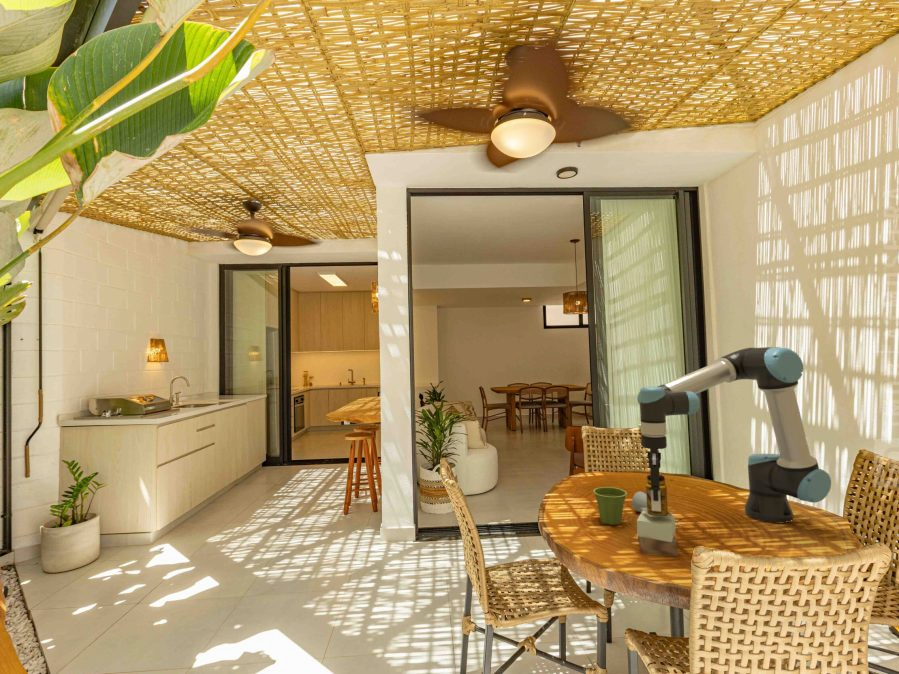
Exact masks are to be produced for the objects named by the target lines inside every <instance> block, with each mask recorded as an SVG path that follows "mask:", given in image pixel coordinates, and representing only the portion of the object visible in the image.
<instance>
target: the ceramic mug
mask: <svg viewBox="0 0 899 674" xmlns="http://www.w3.org/2000/svg"><path fill="white" fill-rule="evenodd" d="M646 498H647V494H646V493H645V492H644V491H637V492H635V493H634V495H633V496H632V499H631V505H632V508H633V510H634V511H636V512H639V513H641V512H642V511H643V510H642V509H641V508H647V499H646Z"/></svg>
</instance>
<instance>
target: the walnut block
mask: <svg viewBox="0 0 899 674" xmlns="http://www.w3.org/2000/svg"><path fill="white" fill-rule="evenodd" d="M637 540H638V543H639V547H640V549H641V552H642V553H643V555H652V556H653V555H655V556H666V557H667V556H668V557H678V555H679V554H678V540H677V538H676V537H675V535H674V537H673V540H672V542H668V541H662V540H656V539H651V538H645V537H639V536H637Z"/></svg>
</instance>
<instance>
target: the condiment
mask: <svg viewBox="0 0 899 674" xmlns="http://www.w3.org/2000/svg"><path fill="white" fill-rule="evenodd" d="M646 482H647V483H646V484H645V492H646V494H647V498H646V499H647V508H641V509H642V510H643V511H645V512H646V513H647V514H648V515H649V516H650V517H668V516H673V515H674V514H672V513H670V512H669V510H668V508H669V507H668V492H667V489H668V488H667V485H666V477H665V476H664V475H662V474H659V486H660V498H661V511H652V507H651V490H649V488H651V473H650V474H648V475H647V477H646Z"/></svg>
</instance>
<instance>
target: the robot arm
mask: <svg viewBox="0 0 899 674" xmlns="http://www.w3.org/2000/svg"><path fill="white" fill-rule="evenodd" d="M803 372H804V364H803V361H802V358H801V357H800V355H799V354H798V353H797V352H795V351H794V350H792V349H790V348H787V347H781V346H780V347H779V346H770V347H766V346H765V347H746V348H743V349H738V350H736V351H733V352H730V353H728V354H726V355H724V356H720V357H718V358H717V359H715V361H714V362H713V363H712V364H709V365H707V366H704V367H702V368H699V369H697V370H694V371H692V372H689V373H687V374H685V375H683V376H680V377H678V378H675V379H672V380H670V381H668V382H665V383H663V384H661V385H660V384H659V385H658V386H643V387H641V388H640V389H639V392H638V394H637V402H638V404H639V414H640V417H639V418H640V423H639V424H638V427H639V428H640V433H641V437H640V441H641V447H642V448H645V449H649V451H647V459H648V468H649V469H650V474H651V488H649V490H651V507H652V511H661V498H660V486H659V475H660V469H661V460H662V453H661V452H660V451H659V450H664V449H666V448H667V447H668V445H667V442H668V441H667V419H666V417H668V416H688V415H693V414H696V413H697V412H698V411H699V409H700V398H699V397H698V394H700V393H701V392H704V391H707V390H709V389H711V388H713V387H716V386H719V385H720V384H723V383H732V382H735V381H740V380H752V381H756V384H757V388H758V389H759V390H760V391H761V392H764V395H765V400H766V405H767V407H768V412H769V416H770V420H771V424H772V428H773V432H774V436H775V440H776V445H777V448H778V449H777V450H778V452H779V453H755V454H751V455H749V456H748V458H747V459H748V463H747V473H748V485H749V492H748V493H749V494H748V496H747V499H746V503H745V505H744V514H745V515H746V516H747V517H749V518H752V519H754V520H758V521H761V522H766V523H772V522H786V521H791V520H793V519H794V513H793V512H794V511H793V509H792V507H791V505H790V502H789V500H788V497H787V496H789V497H792V498H795V499H798V500H800V501H802V502H803V501H804V502H808V503H819V502H821V501H823V500H824V499H825V498H827V496H828V494H829V493H830V492H831V491H830V490H831V487H832V479H831V477H830V474H829V473H828V472H826V471H825V470H824V469H821V468H820V467H819V463H818V460H817V458H815V457H814V456H813V455H811V452H810V449H809V445H808V441H807V436H806V433H805V428H804V424H803V420H802V416H801V412H800V408H799V403H798V399H797V395H796V391H795V388H797V386H798V385H799V380H800V379H801V377H802V376H803ZM793 521H794V520H793Z"/></svg>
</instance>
